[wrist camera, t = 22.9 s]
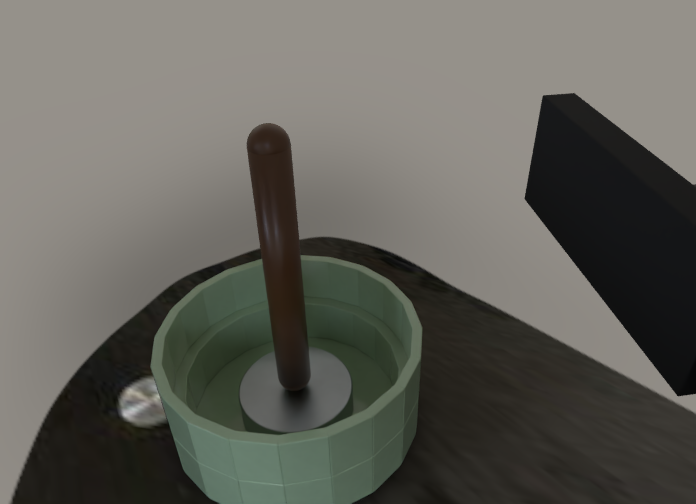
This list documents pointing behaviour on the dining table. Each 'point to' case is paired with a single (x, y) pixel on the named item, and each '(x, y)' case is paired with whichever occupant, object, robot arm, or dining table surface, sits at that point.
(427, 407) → the dining table surface
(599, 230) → the robot arm
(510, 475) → the dining table surface
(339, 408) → the wooden peg on disc
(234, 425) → the bowl
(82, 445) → the dining table surface
